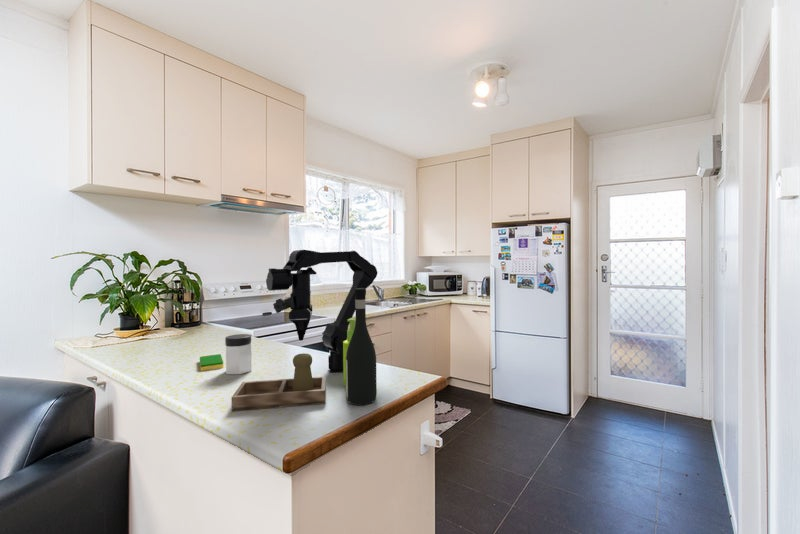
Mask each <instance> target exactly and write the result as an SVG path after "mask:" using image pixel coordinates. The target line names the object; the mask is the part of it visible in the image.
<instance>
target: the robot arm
mask: <svg viewBox="0 0 800 534" xmlns="http://www.w3.org/2000/svg"><path fill="white" fill-rule="evenodd" d="M345 262H346V263H347V265H348V267H349V268H350V270H351V271H352V272H353V275H352V285H351V287H350V289H349V291H348V293H347V296H346V298H345V300H344V301H343V304H342V306H341V308H340V310H339V313H338V315H337V317H336V318H335V321H333V322H332V323H326V326H325V328H324V331H323V332H322V333H321V334H322V337H321V340H322V343H323V345H324V346H325V347H326V350H327V351H329V355H328V357H327V358H328V362H327V363H328V370H329V373H340V372H342V373H343V341H345V340H347V330H348V329H349V326H350V322H348V319H350V318H354V317H353V316H354V314H355V313H356V308H355V289H357V288H364V289H366V290H367V288H369V286H371V285H372V284H373V282H375V280H376V278H377V276H378V270H377V267H376V265H374V264H372V263H371V262H369V260H367V259H365V258H364V257H363V256H361V255H360V253H358V252H357V251H356V250H353V249H352V250H346V251H323V252H320V251H315V250H310V249H309V250H308V249H298V250H297V249H296V250H293V251H291V252H290V254H289V256H288V261H287V262H286V263H285V265H284V266H283V268H268V273H267V275H266V279H265V281H266V282H265V283H266V284H265V285H266V288H267V290H268V292H269V291H287V290H289V289H290V288H291V293H290V295H289V297H287V298H284V299H283V298H282V297H280V298H278V299H276V300H275V302H274V303H273V304H272V305H273V309H274V310H275V313H276V314H280V313H281V312H282V311H285V310H288V309H290V311H289V312H288V320H289V321H290V323H293V324H294V325H295V328H296V333H297V336H298V340H299V341H303V340H304V338H305V336H306V332H307V330H308V327H309V324H310V322H311V317H312V314H313V304H312V303H311V293H312V291H311V275H317V271H315V270H314V269H313V268H312V267H314V266H317V265H319V264H329V263H332V264H333V263H345ZM292 272H293V273H292Z"/></svg>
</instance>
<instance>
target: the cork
mask: <svg viewBox="0 0 800 534" xmlns="http://www.w3.org/2000/svg"><path fill="white" fill-rule="evenodd" d="M292 363H293V367H295V368H294V374H293V379H294V381H293V389H292V391H305V390H314V386H313V380H312V377H313V376H312V368H311V365H312V363H313V357H312V356H311V354H309V353H304V352H303V353H298V354H295V355H294V356H293V358H292Z"/></svg>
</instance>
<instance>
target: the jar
mask: <svg viewBox="0 0 800 534" xmlns="http://www.w3.org/2000/svg"><path fill="white" fill-rule="evenodd" d="M224 339H225V340H224V341H225V343H224V345H225V368H226V369H225V372H226V373H225V374H226V375H243V374H246V373H250V372H253V371H252V367H253V366H252V365H253V364H252V358H253V357H252V355H253V353H252V335H251V334H248V333H237V334H231V335H227V336H226V337H225V338H224Z"/></svg>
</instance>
